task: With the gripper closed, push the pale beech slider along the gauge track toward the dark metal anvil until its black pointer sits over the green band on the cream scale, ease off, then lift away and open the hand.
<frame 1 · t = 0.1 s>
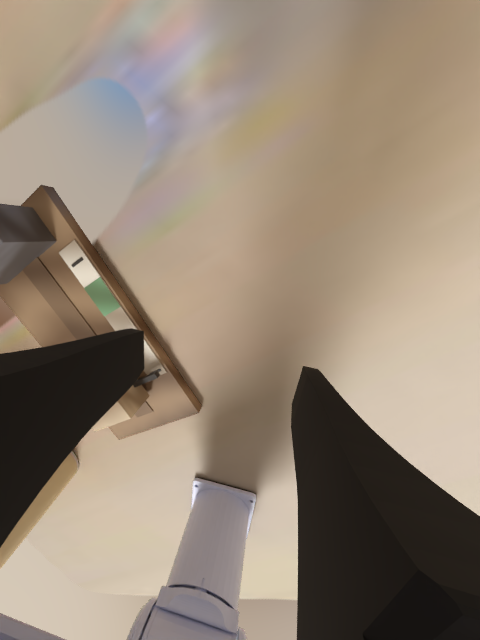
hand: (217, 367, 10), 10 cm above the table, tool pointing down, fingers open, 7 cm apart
gauge slider: (121, 393, 21), point 3 cm above the table, slide at 0.0 cm
coffee cup: (56, 454, 33), on the table
gauge base: (129, 380, 25), on the table
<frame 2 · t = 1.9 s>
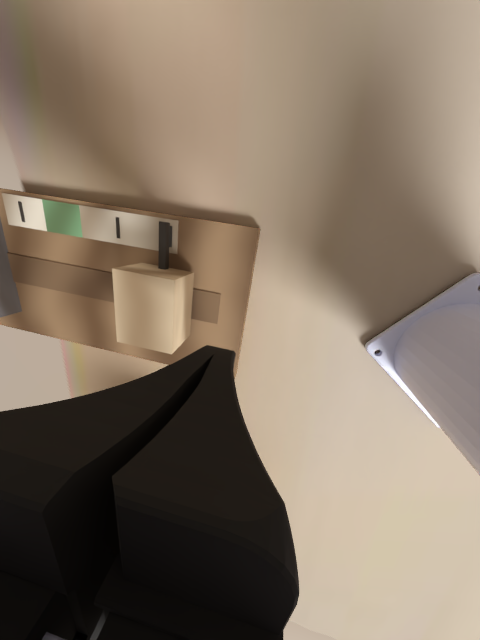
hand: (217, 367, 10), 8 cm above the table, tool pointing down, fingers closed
gauge slider: (156, 285, 15), point 3 cm above the table, slide at 0.0 cm
gauge base: (175, 296, 18), on the table
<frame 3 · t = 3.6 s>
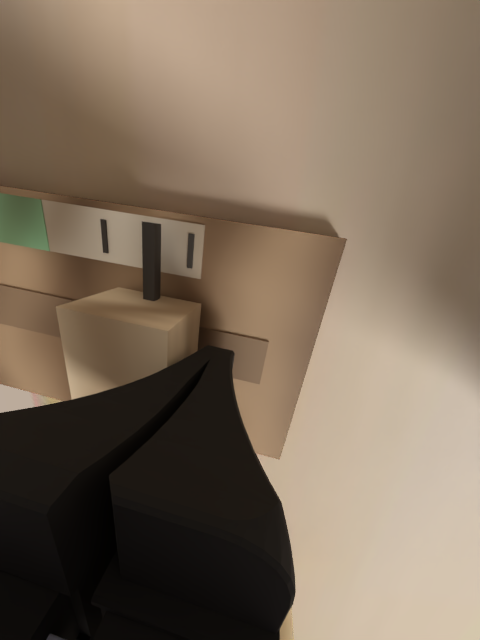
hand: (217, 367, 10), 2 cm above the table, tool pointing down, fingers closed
gauge slider: (139, 328, 9), point 3 cm above the table, slide at 1.3 cm, touching gripper
coffee cup: (243, 559, 19), on the table
gauge base: (193, 337, 12), on the table
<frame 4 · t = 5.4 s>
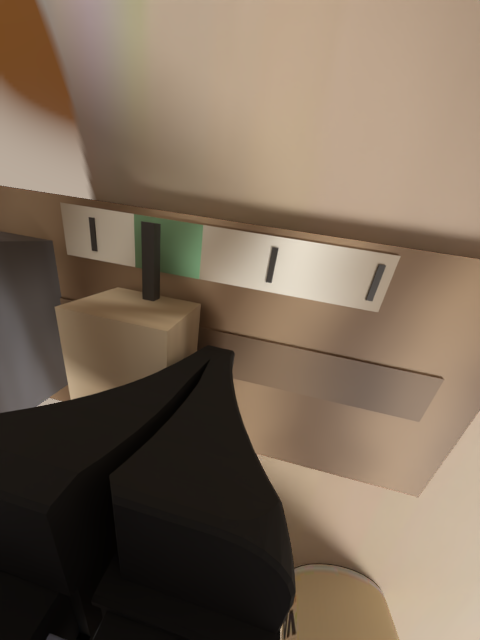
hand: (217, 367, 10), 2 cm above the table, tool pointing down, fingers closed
gauge slider: (138, 328, 9), point 3 cm above the table, slide at 8.7 cm, touching gripper
coffee cup: (331, 588, 18), on the table
gauge base: (333, 368, 11), on the table
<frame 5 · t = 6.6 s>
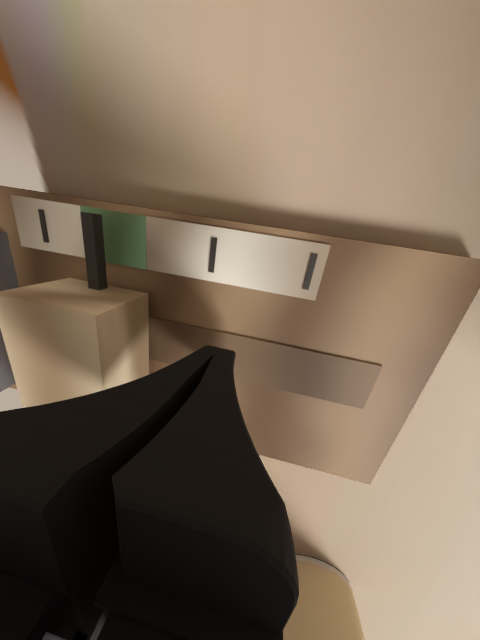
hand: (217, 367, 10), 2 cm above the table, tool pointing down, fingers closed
gauge slider: (83, 316, 9), point 3 cm above the table, slide at 8.7 cm
coffee cup: (301, 578, 19), on the table
gauge base: (284, 357, 12), on the table
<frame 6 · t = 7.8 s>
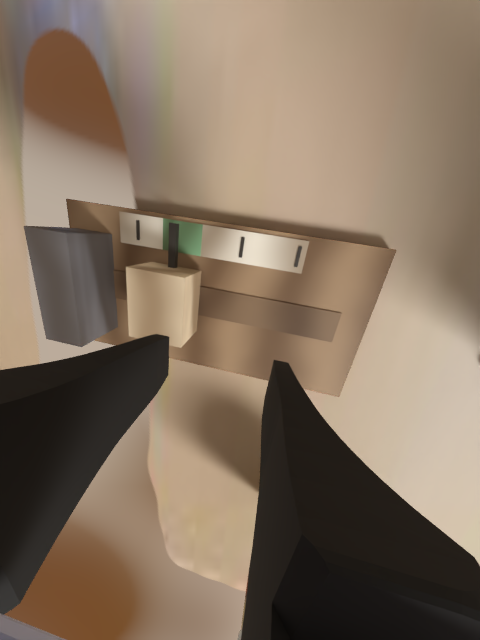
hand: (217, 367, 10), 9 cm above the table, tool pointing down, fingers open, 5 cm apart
gauge slider: (166, 283, 16), point 3 cm above the table, slide at 8.7 cm
gauge base: (283, 313, 18), on the table
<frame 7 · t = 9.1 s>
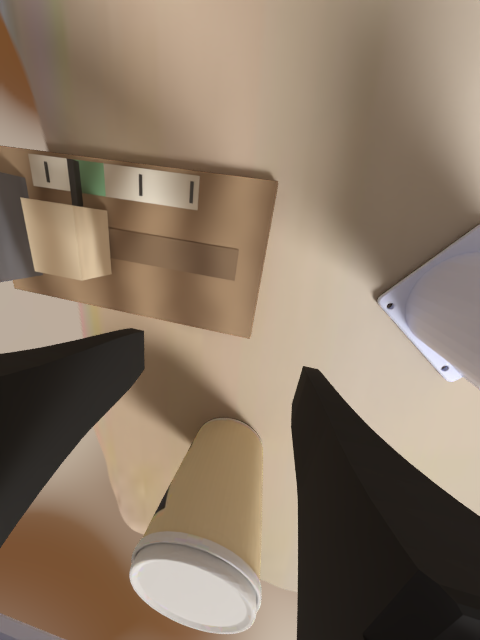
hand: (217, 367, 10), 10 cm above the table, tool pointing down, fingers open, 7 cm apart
gauge slider: (68, 219, 17), point 3 cm above the table, slide at 8.7 cm
coffee cup: (230, 442, 26), on the table
gauge base: (193, 256, 19), on the table
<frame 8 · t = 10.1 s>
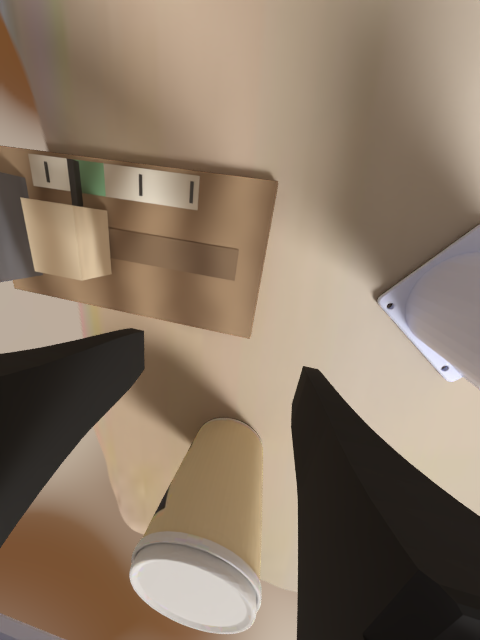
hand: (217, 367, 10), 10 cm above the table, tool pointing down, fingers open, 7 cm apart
gauge slider: (68, 219, 17), point 3 cm above the table, slide at 8.7 cm
coffee cup: (230, 442, 26), on the table
gauge base: (193, 256, 19), on the table
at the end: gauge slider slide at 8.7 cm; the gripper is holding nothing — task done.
